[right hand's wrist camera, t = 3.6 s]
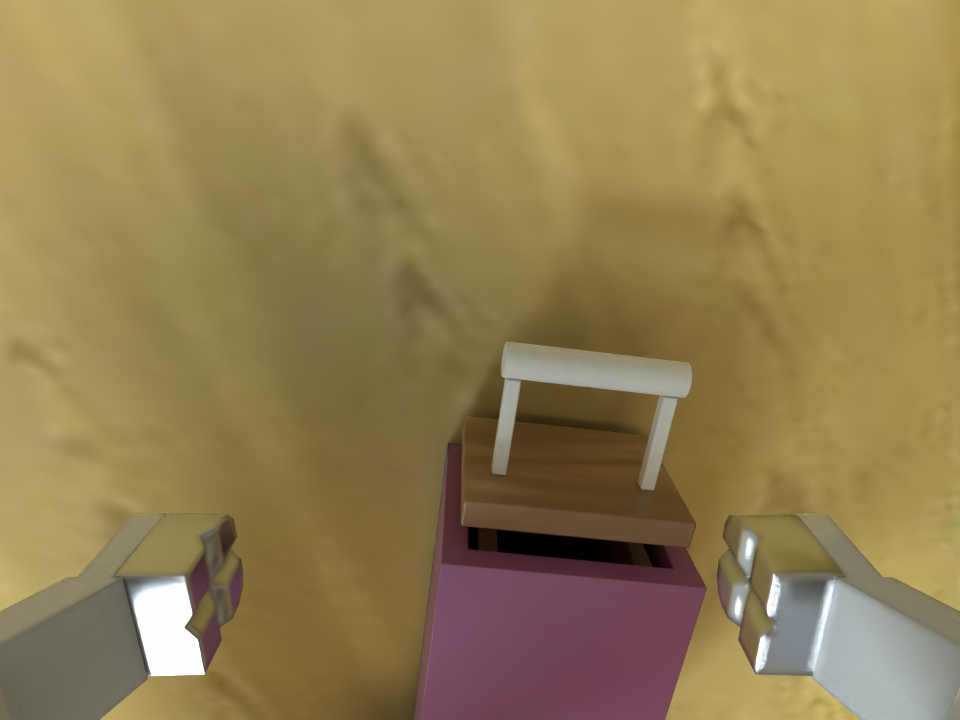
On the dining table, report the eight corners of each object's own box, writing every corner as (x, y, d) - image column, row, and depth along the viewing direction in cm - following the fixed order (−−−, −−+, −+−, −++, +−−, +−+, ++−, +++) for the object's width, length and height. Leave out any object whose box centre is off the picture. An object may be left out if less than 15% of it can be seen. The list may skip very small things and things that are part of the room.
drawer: (479, 303, 29) (483, 361, 22) (674, 326, 30) (737, 390, 23) (425, 703, 38) (416, 835, 31) (576, 715, 39) (600, 847, 32)
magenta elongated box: (447, 443, 33) (440, 563, 24) (644, 463, 34) (707, 588, 25) (411, 730, 40) (395, 904, 31) (573, 742, 41) (603, 916, 32)
